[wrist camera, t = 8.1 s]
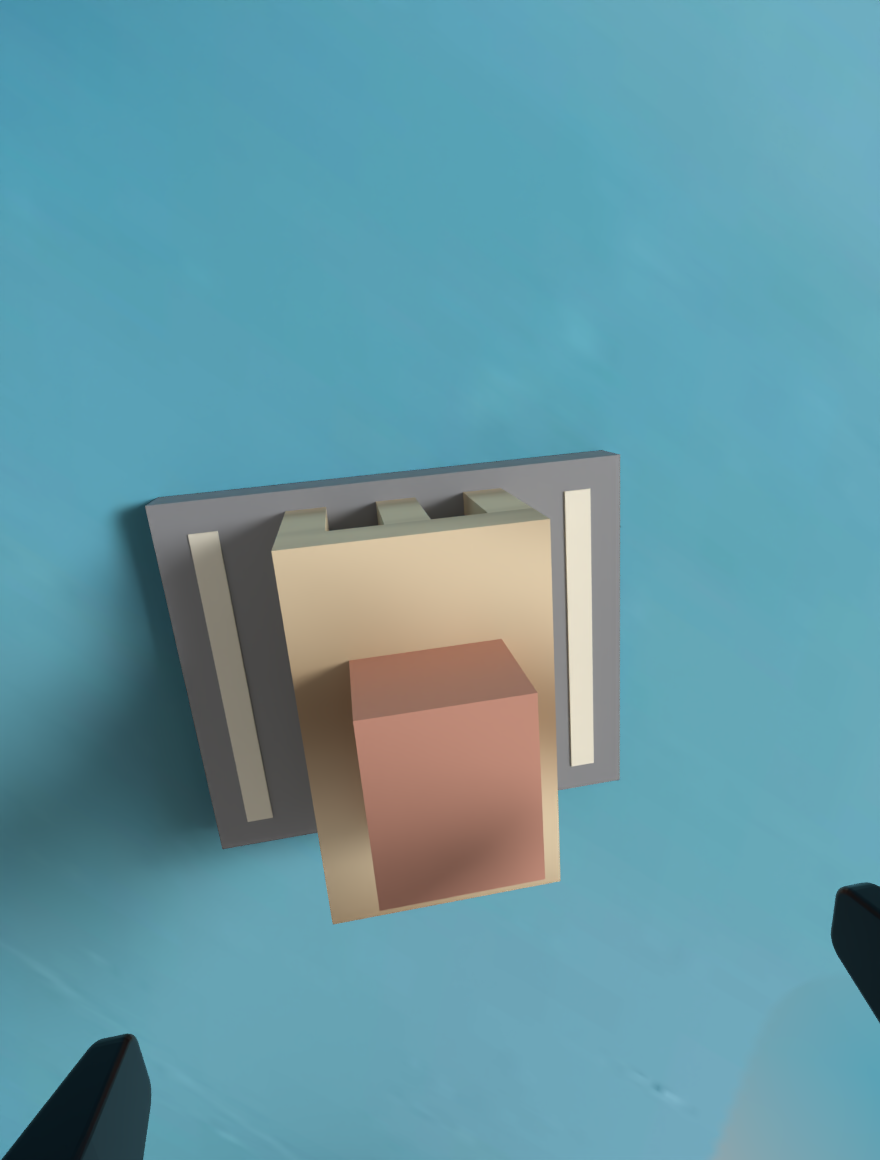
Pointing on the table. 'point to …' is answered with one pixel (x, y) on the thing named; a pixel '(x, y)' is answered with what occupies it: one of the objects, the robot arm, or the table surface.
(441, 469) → the dock
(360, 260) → the table surface
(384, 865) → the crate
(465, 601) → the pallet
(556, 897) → the table surface
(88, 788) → the table surface
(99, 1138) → the robot arm
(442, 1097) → the table surface
